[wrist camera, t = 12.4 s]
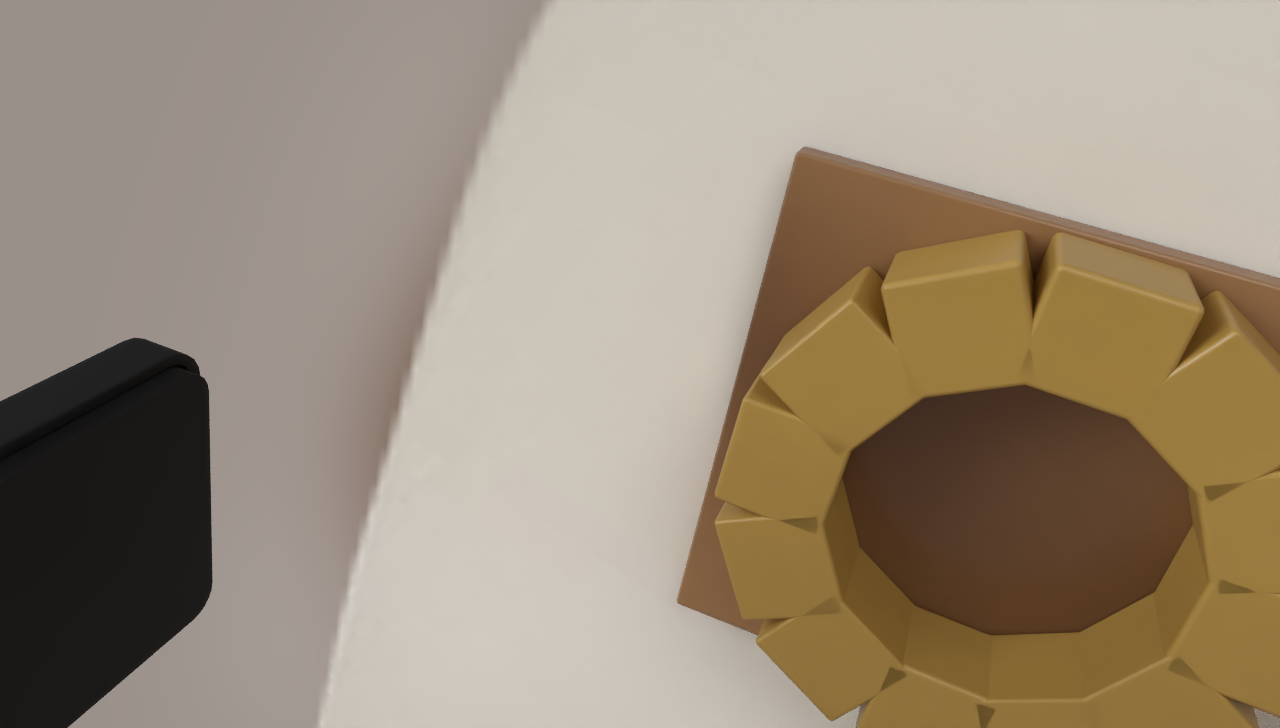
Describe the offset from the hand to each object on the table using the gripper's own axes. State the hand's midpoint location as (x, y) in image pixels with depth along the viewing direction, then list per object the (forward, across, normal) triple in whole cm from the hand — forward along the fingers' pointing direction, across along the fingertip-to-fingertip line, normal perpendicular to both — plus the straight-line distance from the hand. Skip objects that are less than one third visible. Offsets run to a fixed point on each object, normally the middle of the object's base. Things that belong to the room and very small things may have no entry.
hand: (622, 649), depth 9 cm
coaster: (+7, -3, +1) cm, 8 cm away
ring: (+7, -4, +1) cm, 8 cm away
